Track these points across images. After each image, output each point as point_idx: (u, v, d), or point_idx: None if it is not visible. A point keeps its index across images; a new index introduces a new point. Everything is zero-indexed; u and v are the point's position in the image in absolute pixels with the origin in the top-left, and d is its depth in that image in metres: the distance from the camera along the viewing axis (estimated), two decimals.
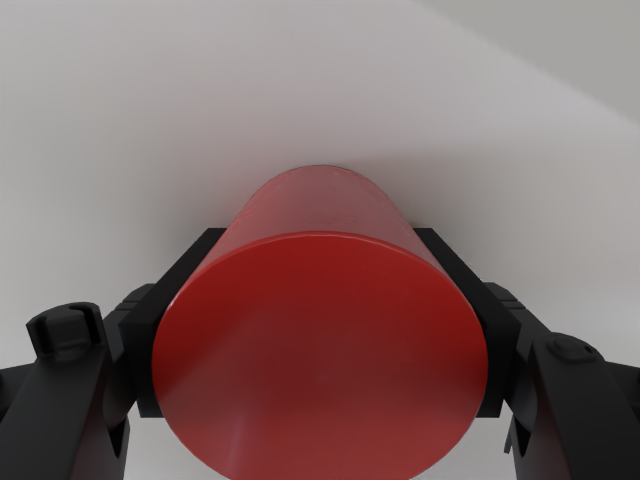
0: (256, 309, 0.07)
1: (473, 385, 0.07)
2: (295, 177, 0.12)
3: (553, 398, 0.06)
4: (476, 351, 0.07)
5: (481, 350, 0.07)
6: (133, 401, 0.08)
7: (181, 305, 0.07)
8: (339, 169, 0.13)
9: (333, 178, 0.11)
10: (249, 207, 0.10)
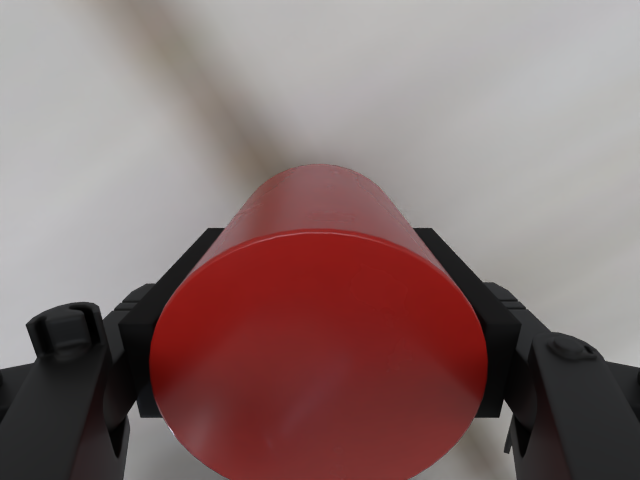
0: (254, 308, 0.07)
1: (472, 384, 0.07)
2: (294, 176, 0.12)
3: (553, 398, 0.06)
4: (475, 350, 0.07)
5: (480, 349, 0.07)
6: (133, 401, 0.08)
7: (178, 304, 0.07)
8: (338, 168, 0.13)
9: (332, 177, 0.11)
10: (248, 206, 0.10)
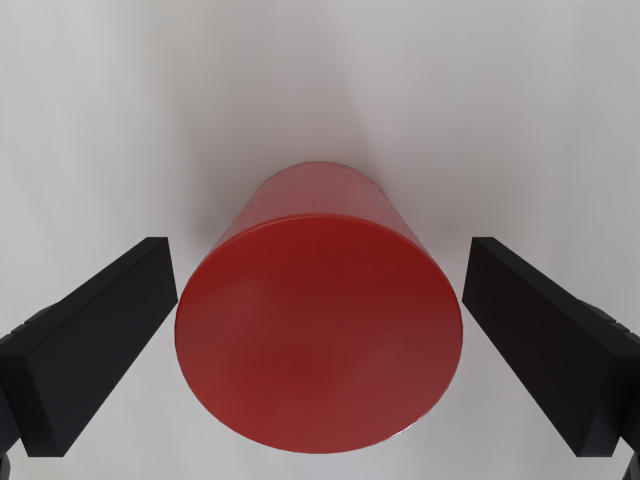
0: (264, 281, 0.08)
1: (450, 348, 0.09)
2: (297, 172, 0.13)
3: None
4: (452, 317, 0.08)
5: (456, 316, 0.08)
6: (15, 441, 0.07)
7: (201, 277, 0.08)
8: (337, 165, 0.14)
9: (331, 172, 0.12)
10: (256, 198, 0.12)
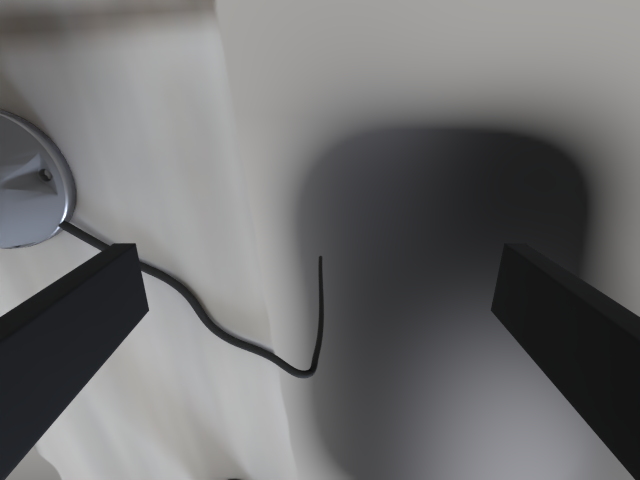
0: None
1: None
2: None
3: None
4: None
5: None
6: None
7: None
8: None
9: None
10: None
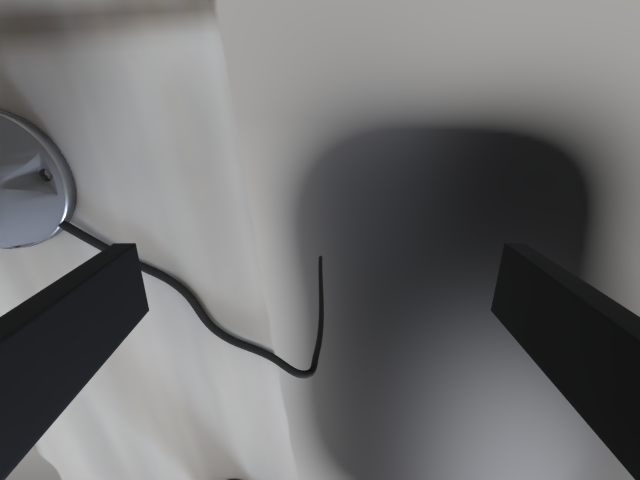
0: None
1: None
2: None
3: None
4: None
5: None
6: None
7: None
8: None
9: None
10: None
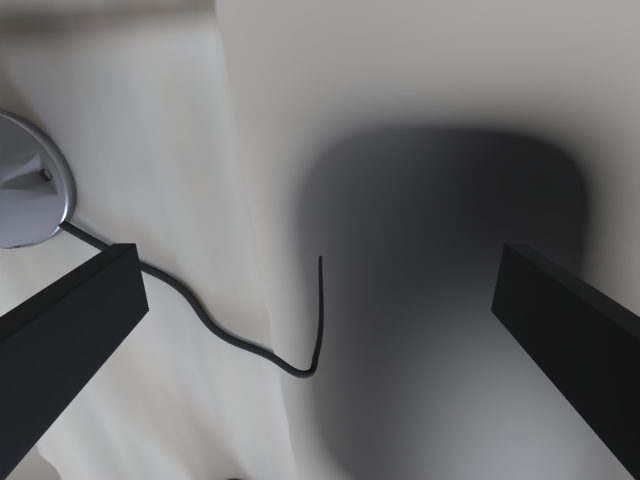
0: None
1: None
2: None
3: None
4: None
5: None
6: None
7: None
8: None
9: None
10: None
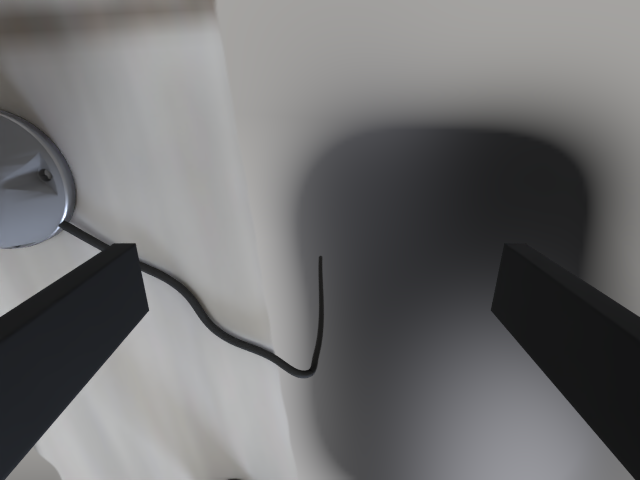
0: None
1: None
2: None
3: None
4: None
5: None
6: None
7: None
8: None
9: None
10: None
